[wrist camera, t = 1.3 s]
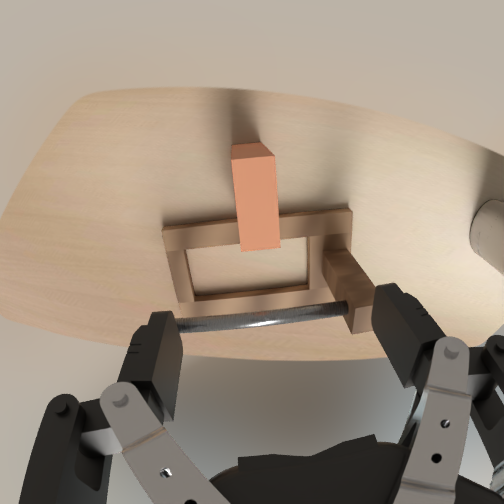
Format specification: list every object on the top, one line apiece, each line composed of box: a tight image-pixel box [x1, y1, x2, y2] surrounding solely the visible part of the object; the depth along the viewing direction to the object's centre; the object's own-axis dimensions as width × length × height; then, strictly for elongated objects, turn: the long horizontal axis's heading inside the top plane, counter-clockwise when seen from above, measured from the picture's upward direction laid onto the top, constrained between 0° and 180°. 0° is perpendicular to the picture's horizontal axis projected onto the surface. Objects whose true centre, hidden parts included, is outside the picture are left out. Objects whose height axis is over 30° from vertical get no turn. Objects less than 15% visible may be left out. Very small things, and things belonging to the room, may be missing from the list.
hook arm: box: [175, 300, 349, 333], centre depth 26 cm, size 17×1×3 cm, turn 95°
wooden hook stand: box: [162, 208, 376, 335], centre depth 30 cm, size 21×12×12 cm, turn 95°
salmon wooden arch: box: [231, 142, 280, 252], centre depth 26 cm, size 7×3×10 cm, turn 5°
